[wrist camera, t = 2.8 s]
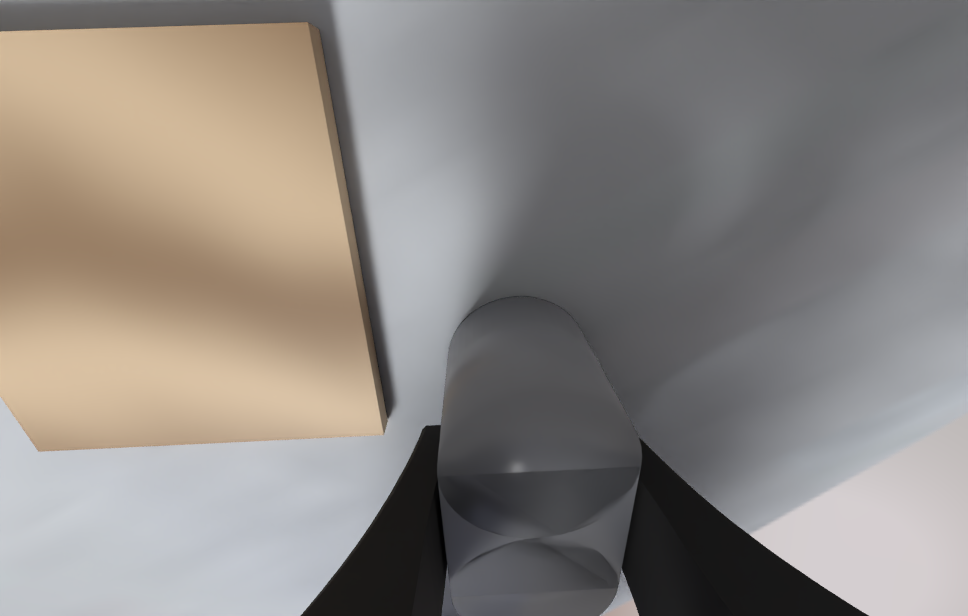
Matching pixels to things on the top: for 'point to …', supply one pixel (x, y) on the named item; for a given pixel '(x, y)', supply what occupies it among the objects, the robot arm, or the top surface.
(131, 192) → the cork coaster
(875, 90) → the top surface
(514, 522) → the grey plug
